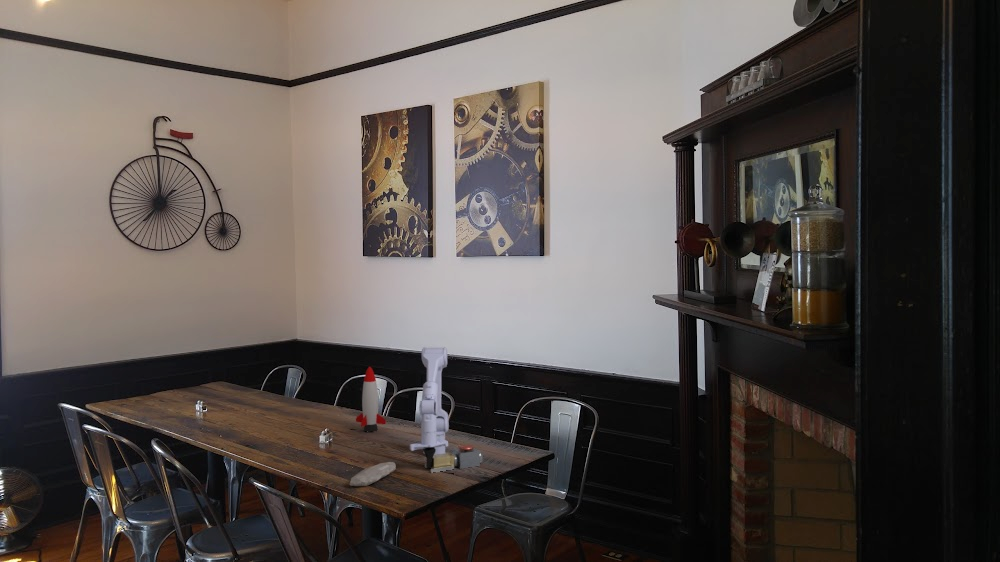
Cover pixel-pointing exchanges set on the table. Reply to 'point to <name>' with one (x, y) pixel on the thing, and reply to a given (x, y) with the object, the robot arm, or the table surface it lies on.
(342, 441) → the table surface
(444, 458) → the gold flanged block
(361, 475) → the stone tool
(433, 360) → the robot arm
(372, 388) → the toy rocket
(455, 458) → the valve
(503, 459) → the table surface
